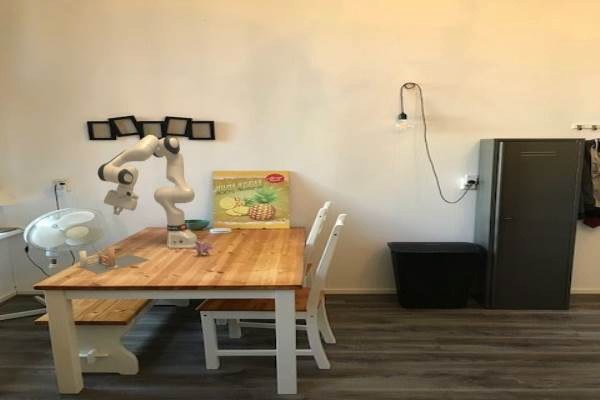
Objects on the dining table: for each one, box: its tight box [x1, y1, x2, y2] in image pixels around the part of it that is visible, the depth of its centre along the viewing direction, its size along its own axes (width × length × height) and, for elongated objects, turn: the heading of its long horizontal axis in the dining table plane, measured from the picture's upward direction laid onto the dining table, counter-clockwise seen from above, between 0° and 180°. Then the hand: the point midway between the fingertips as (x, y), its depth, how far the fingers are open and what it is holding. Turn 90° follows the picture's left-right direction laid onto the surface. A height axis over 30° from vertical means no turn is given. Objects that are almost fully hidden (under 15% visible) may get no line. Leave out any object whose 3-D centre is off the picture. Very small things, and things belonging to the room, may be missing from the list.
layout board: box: [78, 253, 150, 275], centre depth 212 cm, size 22×30×1 cm
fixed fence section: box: [78, 250, 103, 269], centre depth 209 cm, size 3×12×8 cm, turn 143°
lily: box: [191, 240, 215, 255], centre depth 224 cm, size 12×12×10 cm
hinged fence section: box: [100, 246, 116, 267], centre depth 208 cm, size 3×14×10 cm, turn 51°
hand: (115, 214), depth 225 cm, fingers closed
